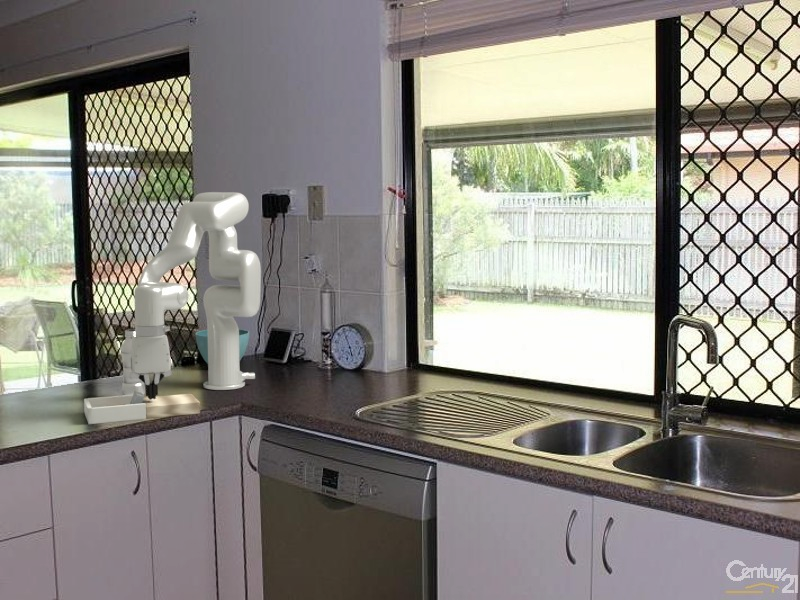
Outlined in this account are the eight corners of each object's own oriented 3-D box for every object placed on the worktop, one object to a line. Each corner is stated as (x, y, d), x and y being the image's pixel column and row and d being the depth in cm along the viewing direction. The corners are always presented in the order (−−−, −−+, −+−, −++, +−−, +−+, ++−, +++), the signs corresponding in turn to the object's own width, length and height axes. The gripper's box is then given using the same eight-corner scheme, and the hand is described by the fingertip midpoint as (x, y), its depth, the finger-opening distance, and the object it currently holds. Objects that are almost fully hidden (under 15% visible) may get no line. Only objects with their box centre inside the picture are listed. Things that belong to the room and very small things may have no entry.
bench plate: (191, 403, 249) (191, 393, 249) (200, 413, 238) (199, 402, 238) (140, 408, 243) (140, 397, 243) (147, 418, 232) (146, 407, 232)
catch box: (139, 408, 244) (138, 394, 243) (146, 418, 232) (145, 403, 231) (84, 413, 238) (83, 398, 237) (88, 424, 226) (88, 408, 225)
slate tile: (141, 393, 240) (134, 391, 239) (144, 396, 235) (137, 394, 234) (135, 410, 239) (128, 408, 239) (138, 414, 235) (130, 412, 234)
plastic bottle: (150, 396, 258) (148, 329, 256) (135, 401, 252) (133, 332, 250) (131, 395, 260) (129, 328, 258) (117, 399, 254) (114, 331, 252)
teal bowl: (252, 370, 299) (252, 335, 297) (197, 373, 294) (197, 337, 292) (246, 361, 316) (246, 327, 314) (194, 363, 311) (194, 329, 309)
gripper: (175, 328, 243) (177, 393, 245) (119, 331, 237) (121, 397, 239) (180, 331, 236) (182, 398, 238) (122, 334, 230) (125, 403, 232)
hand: (151, 398), depth 238 cm, fingers closed
